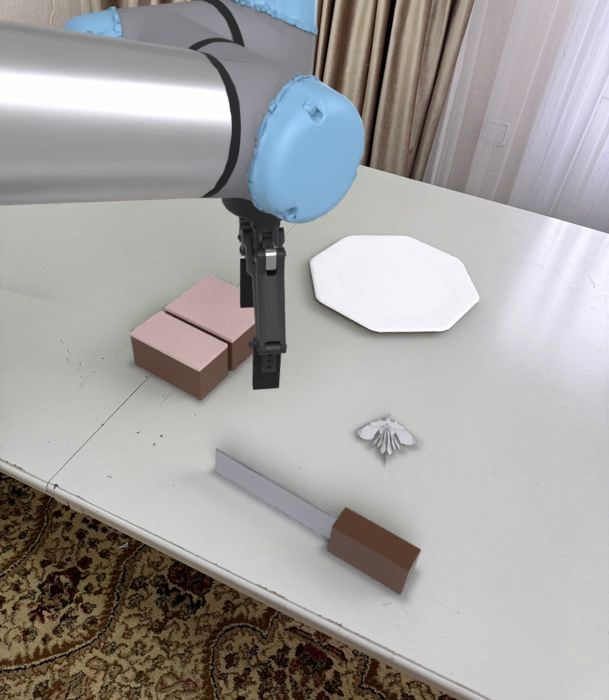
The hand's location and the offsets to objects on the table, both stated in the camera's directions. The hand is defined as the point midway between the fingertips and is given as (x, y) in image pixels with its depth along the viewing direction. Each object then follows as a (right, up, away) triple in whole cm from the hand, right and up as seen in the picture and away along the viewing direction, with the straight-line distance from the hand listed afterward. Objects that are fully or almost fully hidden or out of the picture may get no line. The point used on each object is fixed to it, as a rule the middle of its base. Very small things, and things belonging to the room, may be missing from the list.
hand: (258, 343), depth 69 cm
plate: (+20, +10, +38) cm, 44 cm away
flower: (+16, -13, +11) cm, 23 cm away
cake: (-7, +1, +25) cm, 26 cm away
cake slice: (-12, -4, +19) cm, 23 cm away
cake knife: (+5, -21, +1) cm, 21 cm away
